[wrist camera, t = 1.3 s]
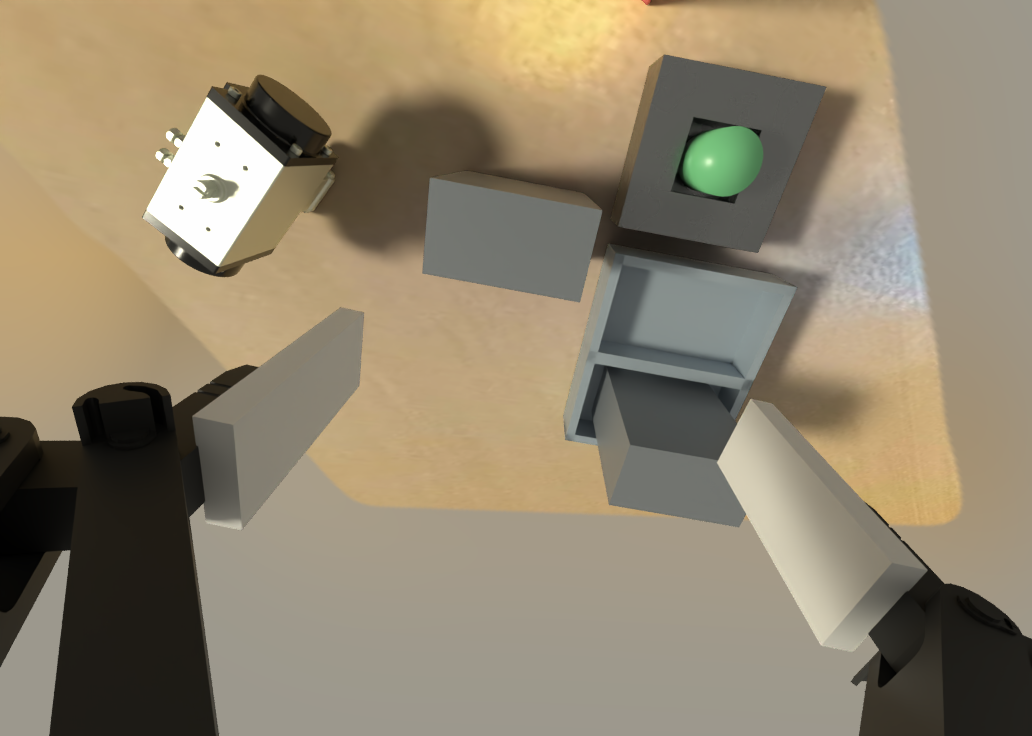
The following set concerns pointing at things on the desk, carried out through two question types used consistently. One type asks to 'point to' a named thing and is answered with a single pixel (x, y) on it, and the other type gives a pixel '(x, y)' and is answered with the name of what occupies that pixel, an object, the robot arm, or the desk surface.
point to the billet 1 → (509, 234)
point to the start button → (721, 160)
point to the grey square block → (699, 107)
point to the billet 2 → (664, 446)
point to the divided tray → (675, 327)
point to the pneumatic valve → (241, 176)
